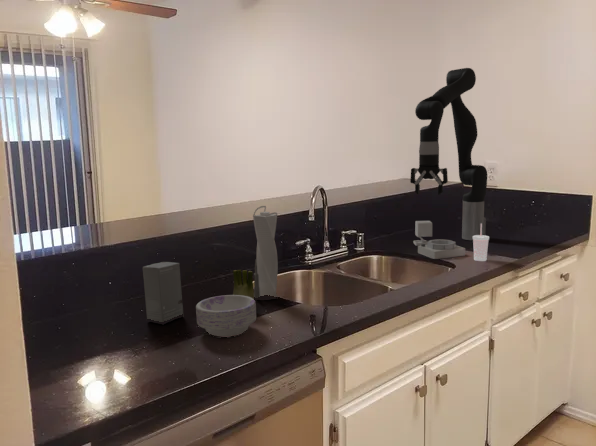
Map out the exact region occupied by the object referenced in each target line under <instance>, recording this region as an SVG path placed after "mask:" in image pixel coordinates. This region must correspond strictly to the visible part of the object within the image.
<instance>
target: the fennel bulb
mask: <svg viewBox="0 0 596 446" xmlns="http://www.w3.org/2000/svg"><path fill="white" fill-rule="evenodd" d="M232 274H233V292H232V295H243V296H248V297H251V298H253V299H254V272H253V271H251V270H249V271H248V270H247V269H245V270H243V269H237V270H236V269H235V270H232Z"/></svg>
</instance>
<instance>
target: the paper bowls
mask: <svg viewBox="0 0 596 446" xmlns="http://www.w3.org/2000/svg"><path fill="white" fill-rule="evenodd" d="M195 313H196V325H198V327H200V328H202V329H204V330H205V331H206V333H207V332H208V333H209V334H208V333H207V334H208V335H210V334H212V335H217V336H231V335H237V334H240V333H243V332H244V331H246V330H247V331H248V329H249V326H250V325H252V324H253V323H255V322H256V320H257V305H256V301H255V300H254V299H253V298H251V297H248V296H243V295H233V294H226V295H225V294H224V295H217V296H212V297H208V298H204V299H202V300H201V301H199V302H198V303H197V304H196V305H195ZM247 331H246V332H247ZM244 333H245V332H244ZM244 333H243V334H244Z"/></svg>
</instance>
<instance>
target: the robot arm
mask: <svg viewBox="0 0 596 446" xmlns="http://www.w3.org/2000/svg"><path fill="white" fill-rule="evenodd" d="M445 77H446V79H445V81H446V85H445V86H443V87H440V88H439V89H438V90H437V91H436V92H435V93H433V95H431V96H428V97H426V98H424V99H422V100H421V101H420V102H418V103H417V105H416V107H415V110H414V111H415V116H416V118H417V119H419V120H421V121H430V120H431V121H430V123H429V124H428V125H424V126H422V127H421V128H420V131H419V148H418V154H419V157H418V158H419V159H418V160H419V161H418V162H419V163H418V165H419V166H418V168H415V167H413V168H411V169H410V179H409V181H410V184H413V185H414V187H415V189H414V191H415V192H414V193H415V194H416V195H420V193H421V192H420V191H421V190H420V189H421V188H420V187H421V185H420V183H421V182H422V181H423V180H433V179H434V181H436V183H437V184H438V185H437V191H438V192H437V195H442V194H443V191H444V189H443V188H444V185H445V184H447V183H448V182H449V181H448V179H449V176H448V168H447V167H444V168H440V165H439V164H440V145H439V144H440V142H439V131H440V126H441V122H442V120H443V115H444V110H445V108H447V107H448V106H449V105H450V106H451V111H452V116H453V125H454V126H453V127H454V134H455V140H456V149H457V156H458V158H457V160H458V176H459V177H458V178H459V180H460V182H461V184H462V185H464V186H470V187H471V190H470V191H469V192H466V193H464V194H463V196H462V215H461V216H462V221H461V223H462V224H461V227H462V228H461V239H462V240H466V241H473V236H474V235H480V228H481V223H482V235H485V236H486V224H487V222H486V221H487V219H486V217H485V199H486V198H485V197H486V195H487V188H488V187H487V185H488V171H487V169H486V167H485V165H480V164H473V162H472V151H473V148H474V146H475V144H476V141H477V138H478V125H477V121H476V118H475V116H474V114H473V113H472V112H471V111H470V109H469V108H468V107H467V106H466V105H465V103H464V102H463V99H462V95H463V94H465V93H466V92H468V91H470V90H471V89H473V88H474V86H475V85H476V79H477V76H476V72H475V70H474V69H473V68H472V67H471V68H470V67H464V68H457V69H452V70H448V72H447V73H446V76H445ZM418 173H419V176H418V178H417V179H416V174H418ZM439 173H441V174H442V179H441V177H440V176H439V175H438V174H439Z"/></svg>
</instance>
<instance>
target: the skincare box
mask: <svg viewBox="0 0 596 446" xmlns="http://www.w3.org/2000/svg"><path fill="white" fill-rule="evenodd" d="M142 276H143V287H144V299H145V311H146V320H147V319H151V320H154V321H159V322H164V321H167V320H170V319H172V318H174V317H177V316H179V315H182V314H183V315H184V307H183V295H182V294H183V293H182V292H183V291H182V282H181V278H182V277H181V267H180V262H173V261H172V262H171V261H161V262H157V263H151V264H149V265H144V266H142Z"/></svg>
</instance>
